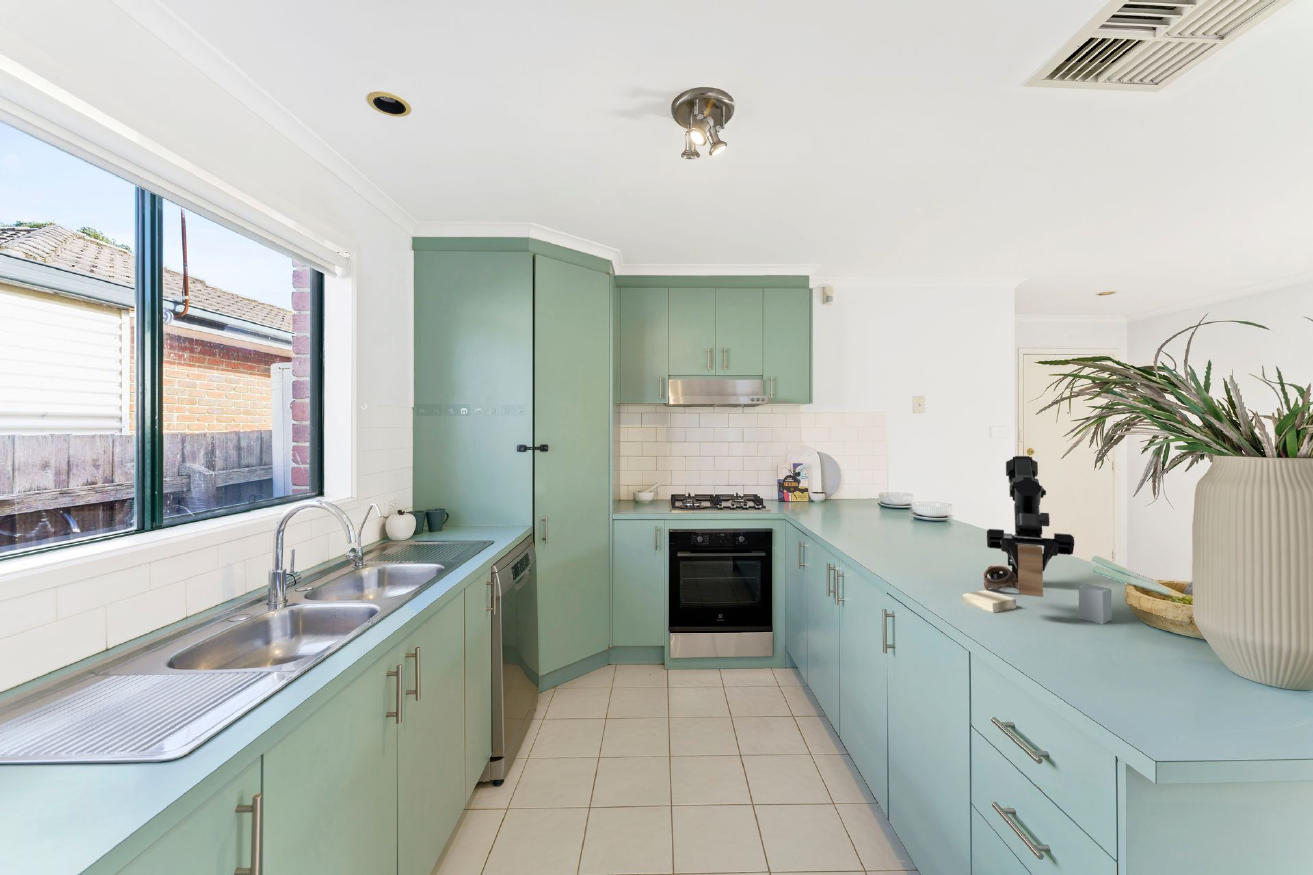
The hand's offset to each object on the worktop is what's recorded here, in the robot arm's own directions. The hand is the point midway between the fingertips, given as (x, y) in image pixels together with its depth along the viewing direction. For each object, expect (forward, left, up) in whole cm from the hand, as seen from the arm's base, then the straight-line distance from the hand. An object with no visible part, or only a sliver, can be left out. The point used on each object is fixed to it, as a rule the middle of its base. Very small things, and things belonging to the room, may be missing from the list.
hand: (1030, 569), depth 135 cm
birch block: (-2, -13, -14) cm, 19 cm away
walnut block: (-1, -1, -7) cm, 7 cm away
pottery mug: (-19, -22, -14) cm, 32 cm away
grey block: (-16, +5, -13) cm, 22 cm away
